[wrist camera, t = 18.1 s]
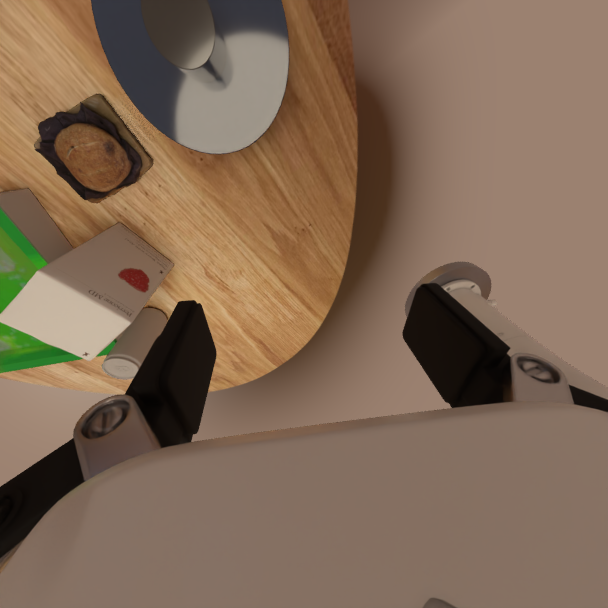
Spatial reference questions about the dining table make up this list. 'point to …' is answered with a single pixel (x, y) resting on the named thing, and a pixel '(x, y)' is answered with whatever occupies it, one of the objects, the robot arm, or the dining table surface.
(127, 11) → the lid
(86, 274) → the white product box
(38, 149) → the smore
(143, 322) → the beverage can
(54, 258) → the flat green box
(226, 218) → the dining table surface
